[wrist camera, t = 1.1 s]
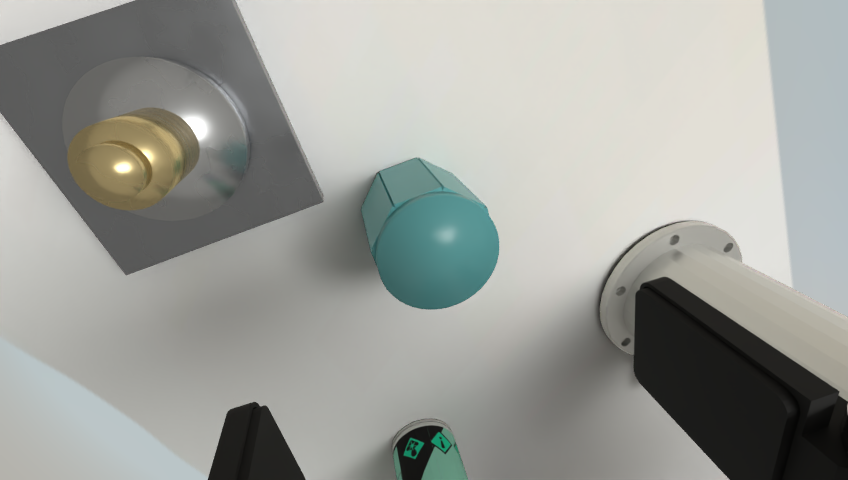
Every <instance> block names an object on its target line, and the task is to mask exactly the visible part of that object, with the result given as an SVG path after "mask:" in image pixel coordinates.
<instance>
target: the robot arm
mask: <svg viewBox="0 0 848 480" xmlns="http://www.w3.org/2000/svg"><path fill="white" fill-rule="evenodd" d="M600 320H601V324H602V328H603V330H604V332H605V333H606V335H607V337H608V338H609V339H610V340H611V341H612V342H613V343H614V344H615V345H616V346H617V347H618V348H620V349H621V350H622V351H624V352H626V353H628V354H631V355H634V373H635V376H636V378H637V380H638V381H639V383H640V384H641V385H642V386H643V387H644V388H645V389H646V390H647V391H648V393H649V394H650V395H651V396H652V397H653V398H654V399H655V400H656V401H657V402H658V403H659V404H660V405H661V406H662V408H663V409H664V410H665V411H666V412H667V413H668V414H669V415H670V416H671V417H672V418H673V419H674V420H675V421H676V423H677V424H678V425H679V426H680V427H681V428H682V429H683V430H684V431H685V432H686V433H687V434H688V435H689V436H690V438H691V439H692V440H693V441H694V442H695V443H696V444H697V445H698V446H699V447H700V448H701V449H702V450H703V452H704V453H705V454H706V455H707V456H708V457H709V458H710V459H711V460H712V461H713V462H714V463H715V464H716V465H717V467H718V468H719V469H720V470H721V471H722V472H723V473H724V474H725V475H726V476H727V477H728V478H729V479H730V480H848V317H846V316H845V315H843V314H841V313H839V312H837V311H835V310H833V309H831V308H829V307H827V306H825V305H823V304H821V303H819V302H817V301H815V300H813V299H812V298H809V297H807V296H806V295H804V294H802V293H800V292H798V291H796V290H794V289H792V288H790V287H788V286H786V285H784V284H782V283H780V282H778V281H776V280H774V279H772V278H771V277H769V276H767V275H765V274H763V273H761V272H759V271H757V270H755V269H753V268H751V267H749V266H747V265H745V264H743V263H742V255H741V252H740V248H739V246H738V244H737V243H736V241H735V239H734V238H733V237H732V236H731V235H730V234H728V233H727V232H726V231H724V230H722V229H720V228H718V227H716V226H714V225H712V224H708V223H705V222H699V221H687V222H681V223H675V224H673V225H670V226H667V227H664V228H661V229H660V230H658V231H656V232H654V233H652V234H650V235H648V236H647V237H646V238H644V239H643V240H642V241H640V242H639V243H638V244H636V245H635V246H634V247H633V248H632V249H631V250H630V251H629V252H628V253H627V254H626V255H625V256H624V257H623V258H622V259H621V261H620V262H619V263H618V264H617V266H616V267H615V268H614V270H613V272H612V274H611V275H610V277H609V279H608V281H607V283H606V285H605V288H604V291H603V293H602V298H601V303H600ZM208 480H305V477H304V475H303V473H302V471H301V469H300V467H299V466H298V464H297V462H296V460H295V458H294V456H293V454H292V452H291V450H290V448H289V447H288V445H287V443H286V441H285V439H284V437H283V435H282V433H281V431H280V430H279V428H278V426H277V424H276V422H275V420H274V418H273V416H272V414H271V412H270V411H269V409H268V407H267V406H262V407H260V406H259V404H258V403H256V402H253V403H249V404H246V405H243V406H240V407H236V408H233V409H230V410H229V411H228V413H227V415H226V419H225V422H224V426H223V429H222V432H221V436H220V439H219V443H218V446H217V450H216V453H215V457H214V460H213V464H212V467H211V471H210V474H209V478H208Z"/></svg>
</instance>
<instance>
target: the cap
mask: <svg viewBox="0 0 848 480" xmlns="http://www.w3.org/2000/svg"><path fill="white" fill-rule="evenodd" d="M379 172H380V174H379V173H377V175H376V177H375V180H374V182H373V184H372V186H371V188H370V190H369V192H368V194H367V196H366V199H365V201H364V203H363V205H362V207H361V209H362V210H361V212H362V216H363V220H364V225H365V229H366V233H367V237H368V241H369V246H370V250H371V253H372V256H373V258H374V260H375V263H376V265H377V267H378V271H379V274H380V277H381V280H382V282H383V284H384V285H385V287H386V289H387V290H388V291H389V292H390V293H391V294H392V295H393V296H394V297H395V298H397V299H398V300H399V301H401V302H403V303H405V304H407V305H409V306H412V307H416V308H420V309H442V308H447V307H450V306H453V305H456V304H459V303H461V302H463V301H465V300H466V299H468V298H470V297H471V296H472V295H474V294H475V293H476V292H477V291H478V290H480V289H481V288H482V286H483V285H484V284H485V283H486V282H487V280H488V279H489V277H490V276H491V274H492V272H493V270H494V268H495V266H496V263H497V259H498V255H499V238H498V233H497V230H496V227H495V225H494V223H493V221H492V220H491V218H490V217H489V213H488V209H487V207H486V206H485V205H484V204H483V203H482V202H481V201H480V200H479V199H478V198H477V197H476V196H475V195H474V194H473V193H472V192H471V191H470V190H469V189H468V188H467V187H466V186H465V185H464V184H463V183H462V182H461V181H460V180H459V179H457V178H456V177H455V176H454V175H453V174H452V173H450V172H448V171H446V170H444V169H442V168H440V167H437V166H435V165H433V164H431V163H429V162H427V161H425V160H423V159H421V158H414V159H412V160H409V161H406V162H403V163H401V164H398V165H395V166H393V167H390V168H387V169H385V170H382V171H379Z"/></svg>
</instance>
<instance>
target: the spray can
mask: <svg viewBox="0 0 848 480" xmlns="http://www.w3.org/2000/svg"><path fill="white" fill-rule="evenodd" d="M392 452H393V459H394V465H395V471H396V477H397V480H468V478H467V475H466V472H465V469H464V466H463V463H462V460H461V457H460V454H459V451H458V448H457V445H456V442H455V439H454V436H453V434H452V431H451V429H450V427H449V426H448V425H447V424H446V423H444V422H442V421H439V420H436V419H423V420H418V421H416V422H413V423H411V424H409V425H407V426H405V427H404V428H403V429H402V430H400V431H399V432H398V434H397V435H396V436H395V438H394V440H393V444H392Z"/></svg>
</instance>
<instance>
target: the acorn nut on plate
mask: <svg viewBox="0 0 848 480" xmlns="http://www.w3.org/2000/svg"><path fill="white" fill-rule="evenodd" d="M0 112H1V114H2V115H3V116H4V117H5V119H6V120H7V121H8V123H9V124H10V125H11V127H12V128H13V129H14V130H15V132H16V133H17V134H18V136H19V137H20V138H21V139H22V141H23V142H24V143H25V145H26V146H27V147H28V149H29V150H30V151H31V152H32V154H33V155H34V156H35V158H36V159H37V160H38V162H39V163H40V164H41V165H42V167H43V168H44V169H45V171H46V172H47V173H48V175H49V176H50V177H51V178H52V180H53V181H54V182H55V184H56V185H57V186H58V187H59V189H60V190H61V191H62V193H63V194H64V195H65V197H66V198H67V199H68V200H69V202H70V203H71V204H72V206H73V207H74V208H75V210H76V211H77V212H78V213H79V215H80V216H81V217H82V219H83V220H84V221H85V222H86V224H87V225H88V226H89V228H90V229H91V230H92V232H93V233H94V234H95V235H96V237H97V238H98V239H99V241H100V242H101V243H102V245H103V246H104V247H105V248H106V250H107V251H108V252H109V254H110V255H111V256H112V257H113V259H114V260H115V261H116V263H117V264H118V265H119V267H120V268H121V269H122V270H123V272H124V273H125V274H126V275H128V274H131V273H134V272H136V271H139V270H142V269H144V268H147V267H150V266H152V265H155V264H158V263H160V262H163V261H166V260H169V259H171V258H174V257H177V256H179V255H182V254H185V253H187V252H190V251H193V250H195V249H198V248H201V247H203V246H206V245H209V244H212V243H214V242H217V241H220V240H222V239H225V238H228V237H230V236H233V235H236V234H238V233H241V232H244V231H246V230H249V229H252V228H255V227H257V226H260V225H263V224H265V223H268V222H271V221H273V220H276V219H279V218H281V217H284V216H287V215H289V214H292V213H295V212H298V211H300V210H303V209H306V208H308V207H311V206H314V205H316V204H319V203H322V202H323V193H322V191H321V189H320V187H319V185H318V182H317V180H316V178H315V176H314V174H313V171H312V169H311V167H310V165H309V162H308V160H307V158H306V156H305V154H304V151H303V149H302V147H301V145H300V143H299V140H298V138H297V136H296V134H295V132H294V129H293V127H292V125H291V123H290V121H289V118H288V116H287V114H286V112H285V109H284V107H283V105H282V103H281V101H280V98H279V96H278V94H277V92H276V90H275V87H274V85H273V83H272V81H271V79H270V76H269V74H268V72H267V70H266V68H265V65H264V63H263V61H262V59H261V56H260V54H259V52H258V50H257V48H256V45H255V43H254V41H253V39H252V37H251V34H250V32H249V30H248V28H247V26H246V23H245V21H244V19H243V17H242V15H241V12H240V10H239V8H238V6H237V3H236V1H235V0H135V1H132V2H129V3H126V4H123V5H120V6H117V7H114V8H111V9H108V10H105V11H102V12H99V13H96V14H93V15H90V16H87V17H84V18H81V19H78V20H75V21H72V22H69V23H66V24H63V25H60V26H57V27H54V28H51V29H48V30H45V31H42V32H39V33H36V34H33V35H30V36H27V37H24V38H21V39H18V40H15V41H12V42H9V43H6V44H3V45H0Z"/></svg>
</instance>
